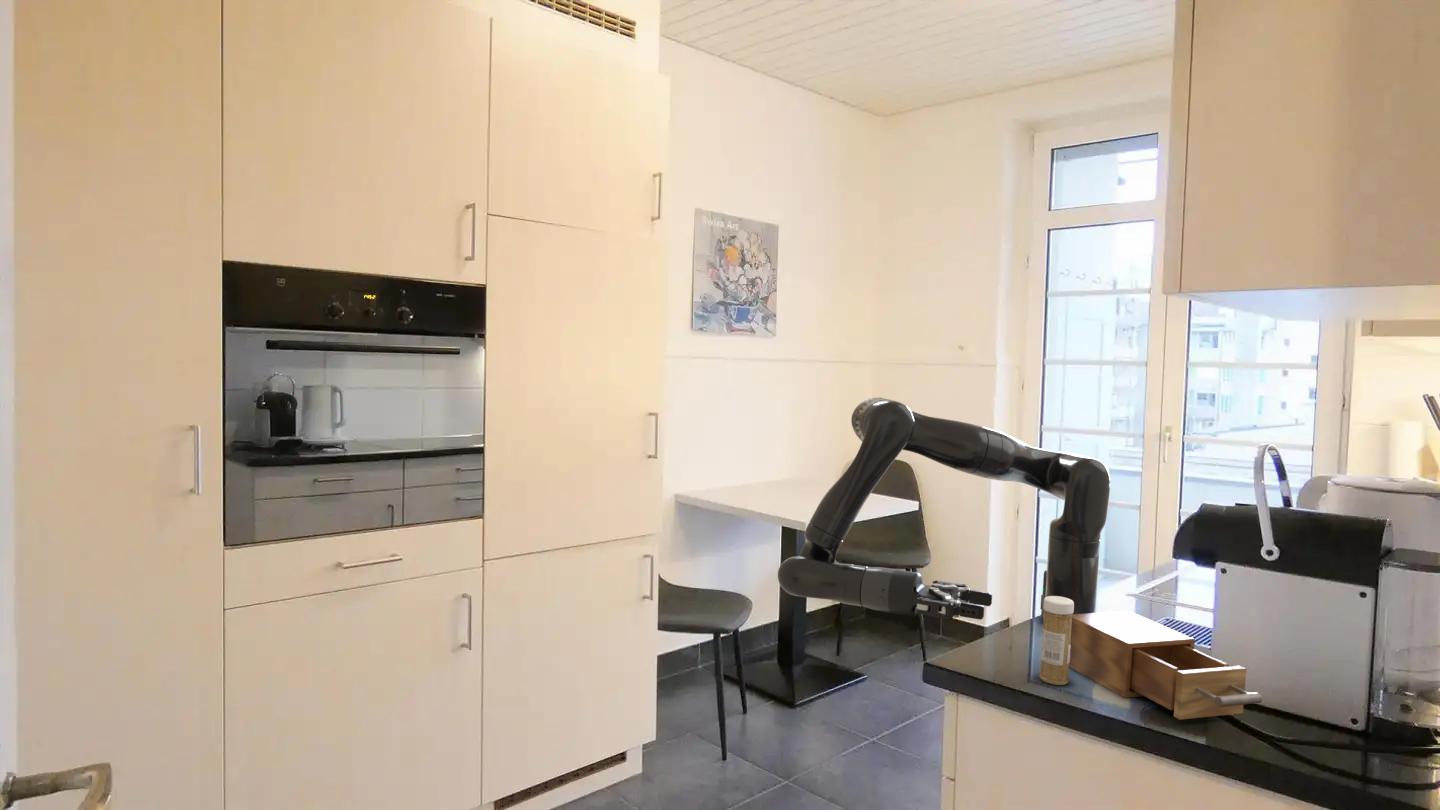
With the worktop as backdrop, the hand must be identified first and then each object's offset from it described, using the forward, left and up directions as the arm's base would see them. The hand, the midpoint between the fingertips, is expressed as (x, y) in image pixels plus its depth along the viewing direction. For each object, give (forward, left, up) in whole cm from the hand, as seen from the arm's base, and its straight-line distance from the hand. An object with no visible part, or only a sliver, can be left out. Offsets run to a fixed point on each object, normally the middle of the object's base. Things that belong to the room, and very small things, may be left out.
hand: (987, 606), depth 146 cm
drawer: (+21, +21, -10) cm, 32 cm away
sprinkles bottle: (+7, +8, -11) cm, 15 cm away
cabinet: (+8, +21, -11) cm, 25 cm away
